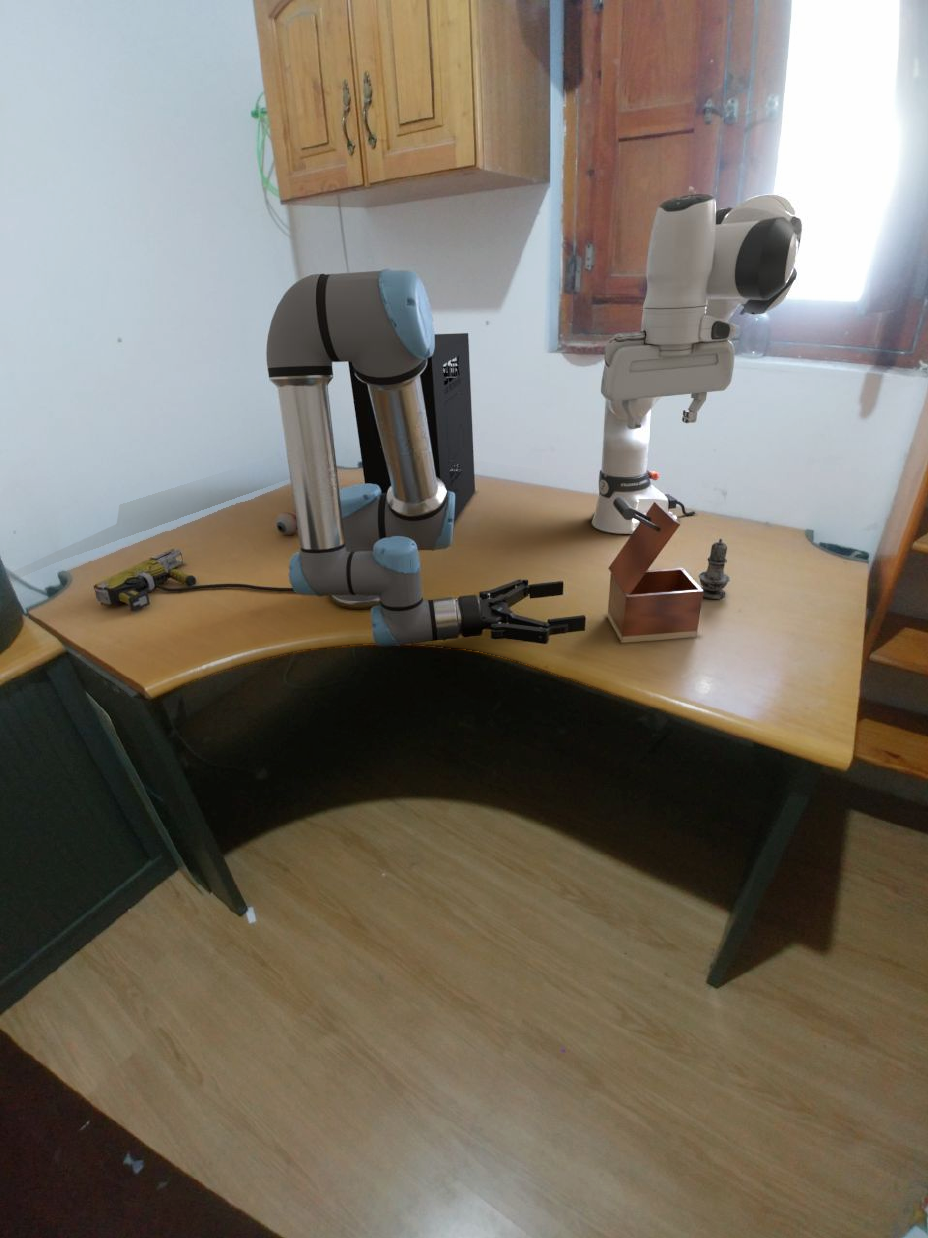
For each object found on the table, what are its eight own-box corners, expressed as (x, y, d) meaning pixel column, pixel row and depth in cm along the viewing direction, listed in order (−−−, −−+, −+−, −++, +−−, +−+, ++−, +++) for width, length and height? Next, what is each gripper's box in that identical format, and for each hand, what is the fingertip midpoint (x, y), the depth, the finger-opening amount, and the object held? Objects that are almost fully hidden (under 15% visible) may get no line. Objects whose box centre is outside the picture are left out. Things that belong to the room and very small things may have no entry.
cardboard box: (444, 537, 157) (431, 349, 135) (371, 534, 162) (346, 352, 139) (475, 491, 189) (468, 332, 166) (413, 489, 193) (398, 335, 171)
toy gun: (219, 557, 146) (169, 546, 150) (142, 598, 126) (87, 585, 129) (222, 574, 148) (172, 563, 152) (147, 618, 128) (92, 604, 132)
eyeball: (273, 537, 164) (268, 516, 161) (287, 528, 169) (282, 508, 166) (291, 539, 161) (286, 518, 158) (305, 530, 166) (301, 510, 163)
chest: (676, 611, 119) (682, 567, 114) (696, 636, 110) (704, 591, 105) (607, 616, 118) (610, 573, 113) (621, 642, 110) (626, 597, 105)
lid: (660, 504, 107) (619, 482, 105) (680, 524, 99) (637, 501, 96) (613, 571, 113) (574, 551, 111) (629, 594, 105) (587, 574, 102)
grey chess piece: (729, 600, 121) (739, 544, 115) (698, 598, 122) (707, 543, 116) (724, 586, 126) (734, 533, 120) (694, 585, 127) (703, 532, 121)
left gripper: (451, 603, 121) (554, 591, 123) (469, 674, 99) (593, 658, 101) (449, 569, 117) (555, 558, 119) (467, 635, 96) (596, 620, 98)
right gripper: (615, 335, 84) (608, 436, 91) (746, 325, 88) (730, 422, 94) (597, 332, 90) (592, 427, 96) (721, 322, 93) (708, 415, 100)
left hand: (573, 604), depth 110 cm, fingers open, 13 cm apart
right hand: (661, 425), depth 95 cm, fingers open, 8 cm apart
